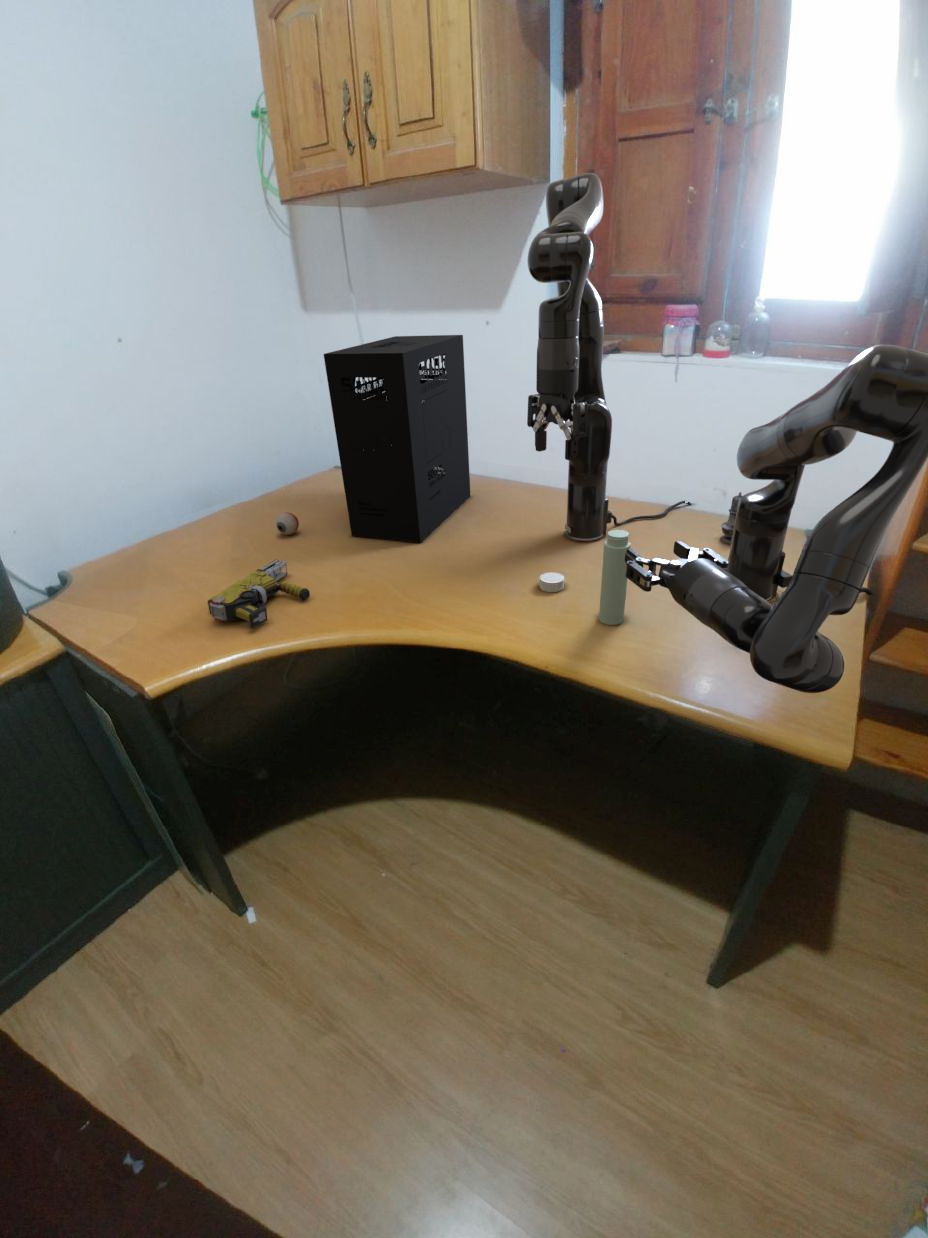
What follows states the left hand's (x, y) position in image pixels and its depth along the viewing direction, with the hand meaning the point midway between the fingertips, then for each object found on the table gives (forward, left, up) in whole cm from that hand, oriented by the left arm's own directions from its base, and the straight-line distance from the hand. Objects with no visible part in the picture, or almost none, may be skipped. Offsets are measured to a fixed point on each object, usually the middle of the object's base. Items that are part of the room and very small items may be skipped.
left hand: (555, 454), depth 116 cm
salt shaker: (-50, -1, -28) cm, 58 cm away
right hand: (-2, +29, -9) cm, 31 cm away
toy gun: (+57, -21, -28) cm, 67 cm away
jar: (-3, +17, -28) cm, 34 cm away
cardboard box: (+13, -57, -28) cm, 65 cm away
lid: (0, 0, -27) cm, 27 cm away
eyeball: (+48, -60, -28) cm, 82 cm away
